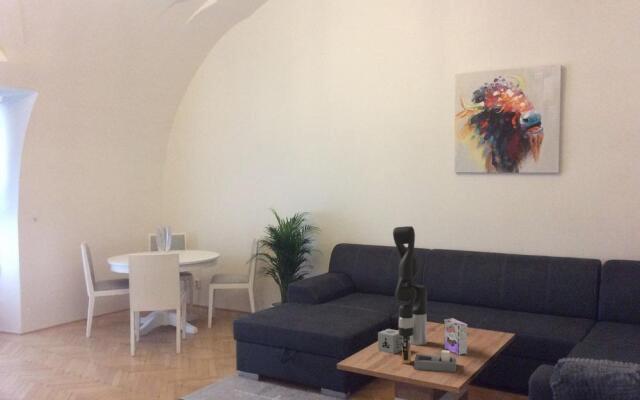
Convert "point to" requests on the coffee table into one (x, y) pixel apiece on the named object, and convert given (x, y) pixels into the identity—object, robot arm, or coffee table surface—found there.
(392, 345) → the icon cube
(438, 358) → the grey slotted holder
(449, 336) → the candy box
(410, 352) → the orange plug
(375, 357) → the coffee table surface
